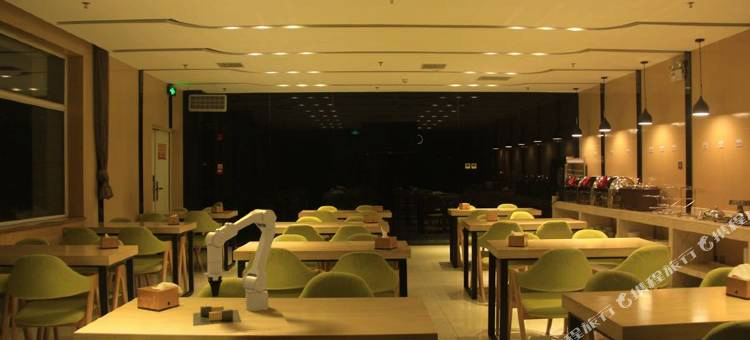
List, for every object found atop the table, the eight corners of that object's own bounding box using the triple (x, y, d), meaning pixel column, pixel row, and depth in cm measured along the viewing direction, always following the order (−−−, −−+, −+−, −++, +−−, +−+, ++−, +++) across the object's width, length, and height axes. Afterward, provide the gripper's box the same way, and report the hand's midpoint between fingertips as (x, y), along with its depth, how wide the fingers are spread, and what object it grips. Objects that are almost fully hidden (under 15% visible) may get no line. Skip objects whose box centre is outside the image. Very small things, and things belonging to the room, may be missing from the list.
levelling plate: (237, 312, 247) (237, 308, 247) (241, 324, 226) (241, 320, 226) (193, 315, 242) (193, 311, 242) (193, 328, 221) (193, 324, 221)
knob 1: (200, 316, 235) (200, 307, 235) (200, 313, 239) (200, 305, 239) (223, 314, 238) (223, 306, 238) (223, 312, 242) (223, 303, 242)
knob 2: (232, 317, 233) (232, 308, 233) (233, 319, 229) (233, 310, 229) (208, 318, 231) (208, 310, 231) (209, 321, 226) (209, 312, 226)
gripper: (204, 259, 241) (204, 292, 240) (204, 264, 227) (205, 299, 227) (221, 259, 243) (222, 291, 242) (223, 263, 229) (223, 298, 229)
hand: (215, 295), depth 235 cm, fingers open, 4 cm apart
